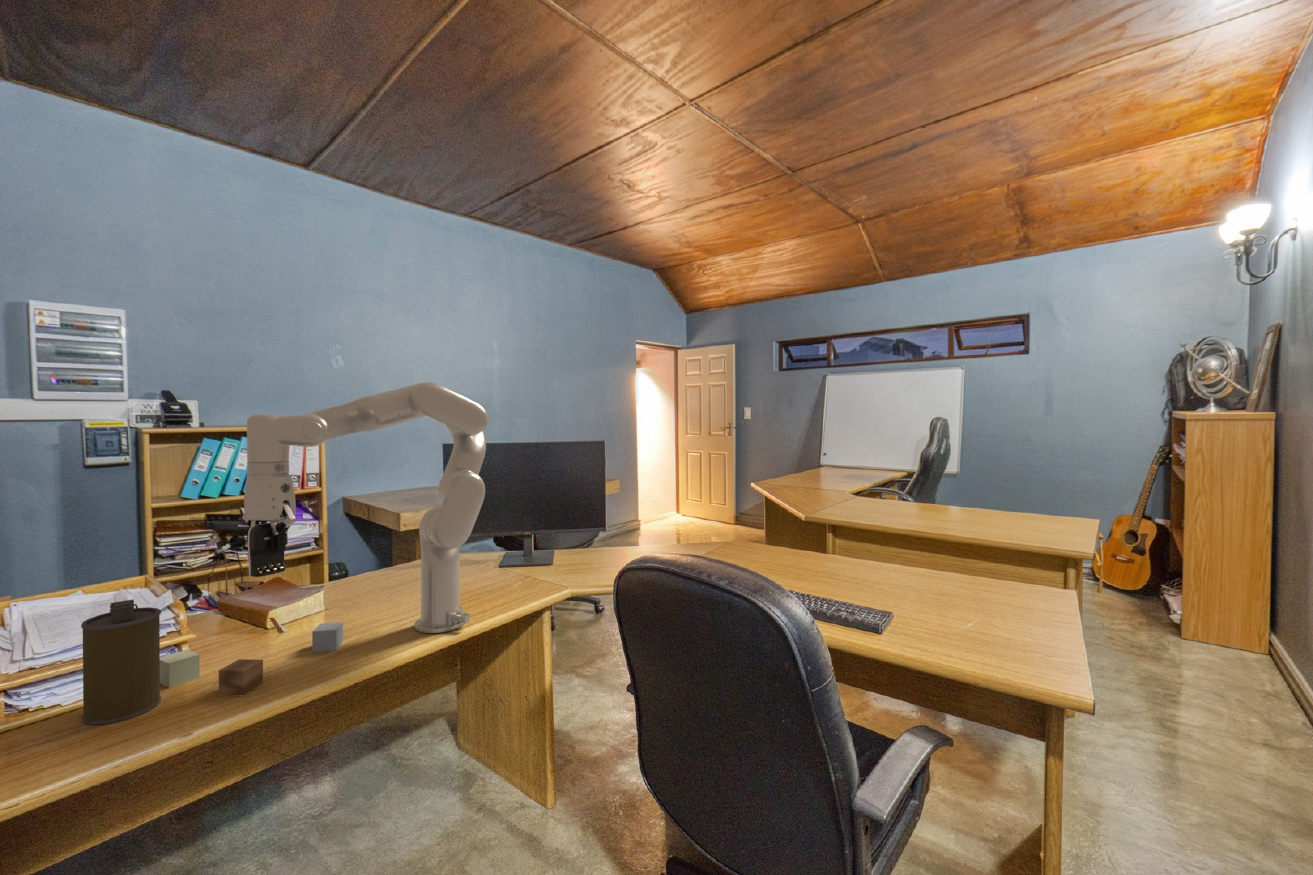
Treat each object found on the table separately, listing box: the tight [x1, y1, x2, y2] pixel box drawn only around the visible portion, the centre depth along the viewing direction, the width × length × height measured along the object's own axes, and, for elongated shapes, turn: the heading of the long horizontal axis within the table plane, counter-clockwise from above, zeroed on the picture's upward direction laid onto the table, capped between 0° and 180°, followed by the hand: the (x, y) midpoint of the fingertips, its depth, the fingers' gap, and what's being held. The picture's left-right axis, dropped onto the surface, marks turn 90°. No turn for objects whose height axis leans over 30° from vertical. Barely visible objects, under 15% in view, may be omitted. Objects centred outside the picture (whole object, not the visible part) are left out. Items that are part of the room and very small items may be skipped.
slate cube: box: [311, 621, 344, 653], centre depth 127 cm, size 5×5×5 cm
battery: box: [247, 522, 289, 578], centre depth 118 cm, size 7×4×11 cm, turn 153°
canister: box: [80, 598, 162, 726], centre depth 98 cm, size 11×10×20 cm
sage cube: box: [160, 649, 201, 689], centre depth 110 cm, size 5×5×5 cm
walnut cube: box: [218, 658, 264, 696], centre depth 106 cm, size 5×5×5 cm
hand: (269, 550), depth 118 cm, fingers closed on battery, 4 cm apart
